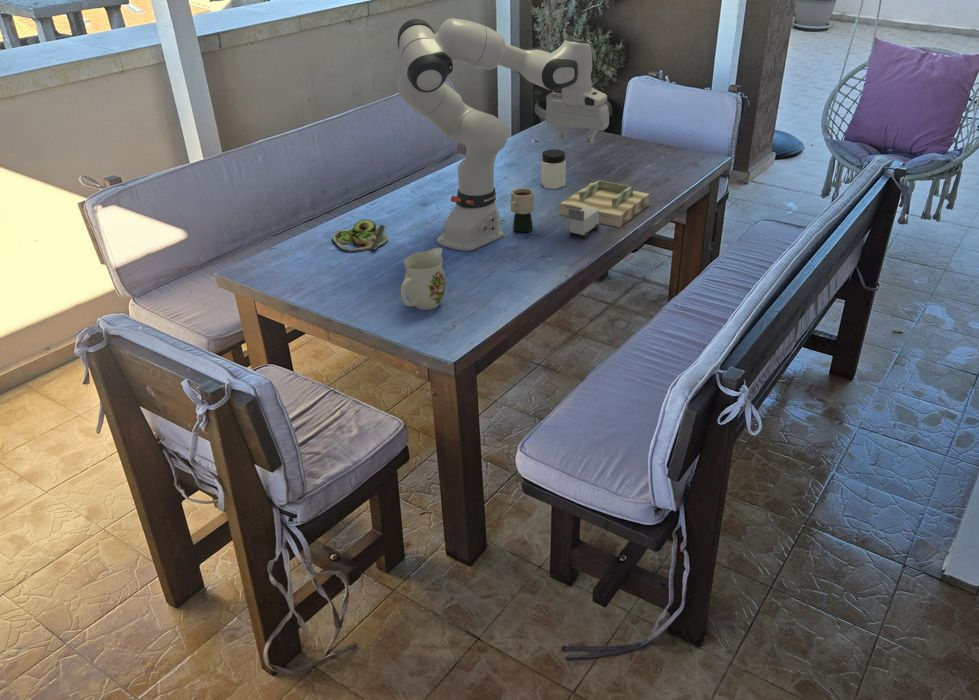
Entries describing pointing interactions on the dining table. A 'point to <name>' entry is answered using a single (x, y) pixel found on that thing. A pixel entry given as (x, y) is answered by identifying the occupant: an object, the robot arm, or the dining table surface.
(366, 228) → the avocado toast plate
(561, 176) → the jar
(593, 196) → the dock
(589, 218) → the grey boxy block
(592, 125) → the robot arm
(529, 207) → the character mug
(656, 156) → the dining table surface
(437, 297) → the pitcher
